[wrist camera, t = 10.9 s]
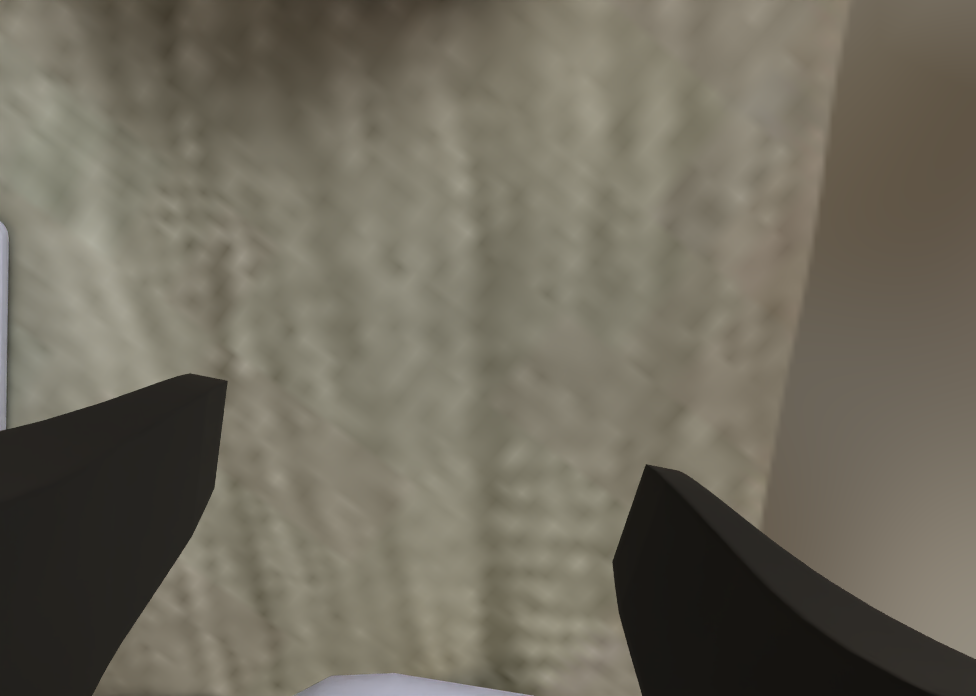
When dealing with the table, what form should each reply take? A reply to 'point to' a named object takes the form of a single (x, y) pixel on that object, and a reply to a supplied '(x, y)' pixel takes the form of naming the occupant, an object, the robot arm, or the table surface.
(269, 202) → the table surface
